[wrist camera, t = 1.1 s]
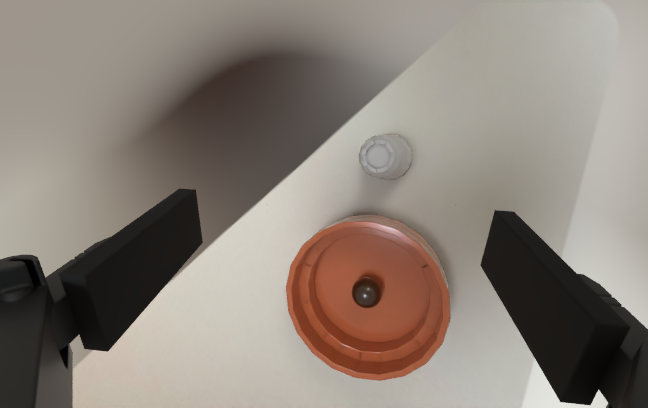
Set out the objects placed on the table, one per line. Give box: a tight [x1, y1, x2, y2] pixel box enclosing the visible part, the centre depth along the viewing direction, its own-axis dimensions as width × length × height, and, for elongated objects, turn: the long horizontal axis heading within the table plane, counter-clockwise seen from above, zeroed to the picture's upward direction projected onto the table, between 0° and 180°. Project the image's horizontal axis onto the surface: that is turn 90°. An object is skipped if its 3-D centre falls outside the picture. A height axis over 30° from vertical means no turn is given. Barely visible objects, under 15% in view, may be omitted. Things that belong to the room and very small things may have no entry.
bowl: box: [286, 215, 450, 380], centre depth 33 cm, size 15×15×4 cm
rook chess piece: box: [359, 134, 412, 180], centre depth 29 cm, size 4×4×8 cm
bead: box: [352, 277, 382, 309], centre depth 33 cm, size 3×3×3 cm
